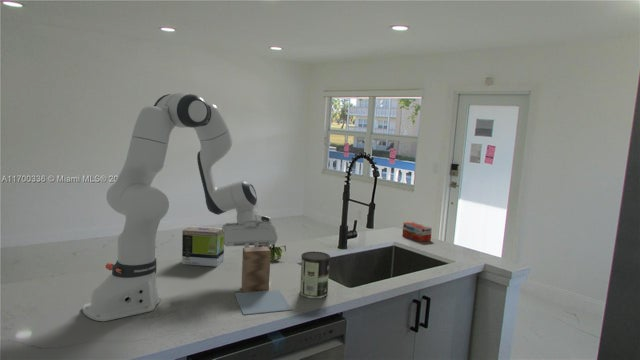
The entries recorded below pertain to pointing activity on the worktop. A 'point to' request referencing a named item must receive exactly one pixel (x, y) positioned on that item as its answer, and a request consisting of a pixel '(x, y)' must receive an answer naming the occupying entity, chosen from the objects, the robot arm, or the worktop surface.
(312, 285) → the coffee can
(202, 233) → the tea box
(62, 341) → the worktop surface
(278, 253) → the passion flower
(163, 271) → the worktop surface
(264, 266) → the cardboard box
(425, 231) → the medicine box
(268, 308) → the mat
